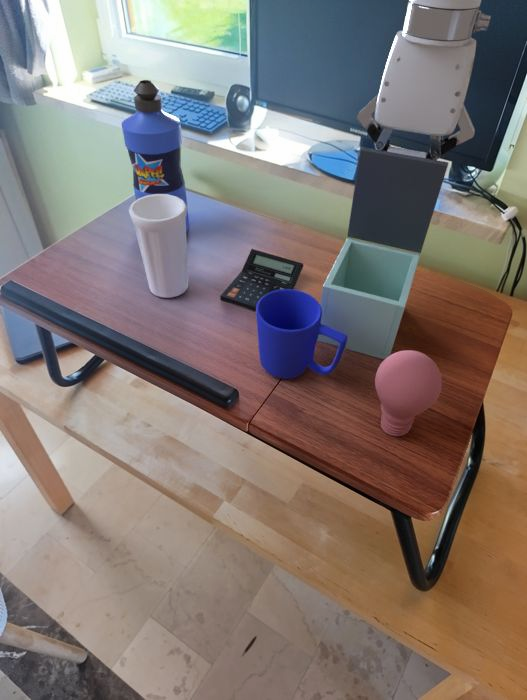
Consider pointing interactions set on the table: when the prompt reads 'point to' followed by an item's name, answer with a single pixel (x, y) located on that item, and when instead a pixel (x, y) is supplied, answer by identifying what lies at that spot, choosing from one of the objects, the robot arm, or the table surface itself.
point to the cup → (162, 242)
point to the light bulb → (406, 389)
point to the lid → (395, 197)
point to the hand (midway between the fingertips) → (401, 178)
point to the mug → (292, 333)
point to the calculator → (261, 279)
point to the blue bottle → (154, 146)
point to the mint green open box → (367, 296)
